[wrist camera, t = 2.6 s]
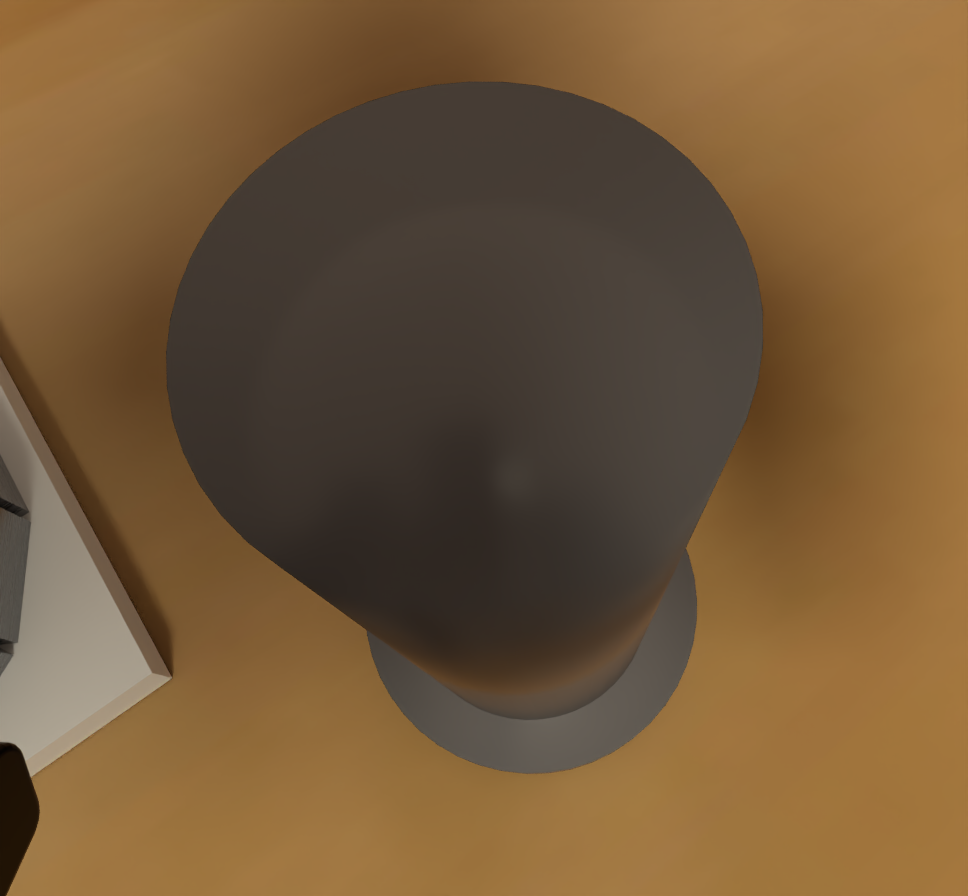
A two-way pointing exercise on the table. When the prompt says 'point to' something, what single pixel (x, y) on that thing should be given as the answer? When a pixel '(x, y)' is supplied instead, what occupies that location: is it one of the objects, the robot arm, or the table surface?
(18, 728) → the flange plate
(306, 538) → the pipe fitting
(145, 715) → the table surface
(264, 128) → the table surface
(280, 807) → the table surface
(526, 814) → the table surface
